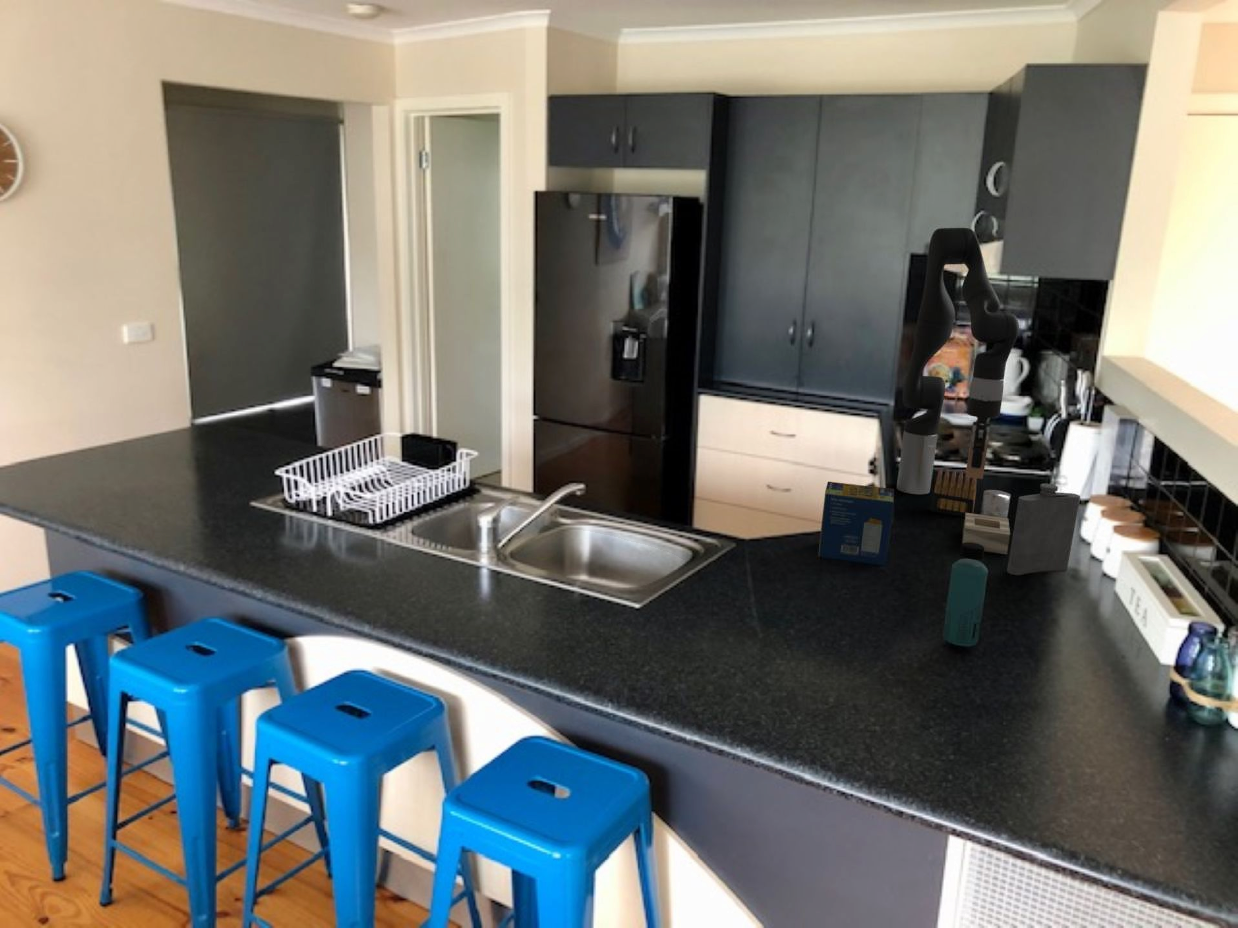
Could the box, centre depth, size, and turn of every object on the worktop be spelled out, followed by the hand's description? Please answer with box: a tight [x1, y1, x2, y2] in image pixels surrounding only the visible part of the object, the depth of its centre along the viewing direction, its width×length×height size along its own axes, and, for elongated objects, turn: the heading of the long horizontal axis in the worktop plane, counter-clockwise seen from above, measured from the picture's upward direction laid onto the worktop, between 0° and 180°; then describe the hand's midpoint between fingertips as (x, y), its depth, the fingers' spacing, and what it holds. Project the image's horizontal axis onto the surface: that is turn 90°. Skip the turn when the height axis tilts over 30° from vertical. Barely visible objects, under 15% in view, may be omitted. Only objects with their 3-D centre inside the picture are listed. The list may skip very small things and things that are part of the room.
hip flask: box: [1006, 483, 1081, 576], centre depth 214 cm, size 16×4×20 cm, turn 109°
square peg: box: [965, 433, 990, 480], centre depth 233 cm, size 4×4×10 cm
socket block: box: [962, 513, 1011, 555], centre depth 233 cm, size 13×10×5 cm
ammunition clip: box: [930, 467, 978, 518], centre depth 253 cm, size 11×2×12 cm, turn 61°
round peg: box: [979, 489, 1012, 519], centre depth 244 cm, size 6×6×9 cm
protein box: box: [818, 481, 895, 567], centre depth 220 cm, size 10×15×16 cm
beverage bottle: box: [942, 542, 989, 647], centre depth 174 cm, size 6×7×20 cm
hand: (975, 465), depth 233 cm, fingers closed on square peg, 4 cm apart
